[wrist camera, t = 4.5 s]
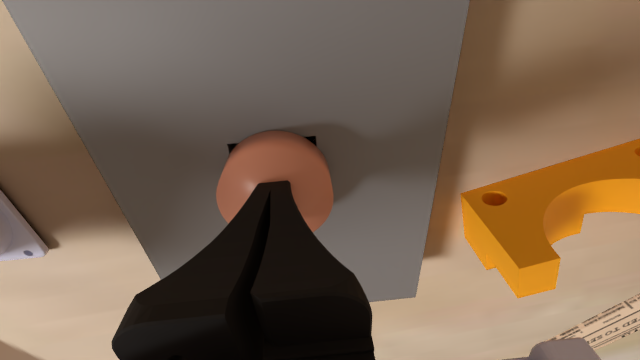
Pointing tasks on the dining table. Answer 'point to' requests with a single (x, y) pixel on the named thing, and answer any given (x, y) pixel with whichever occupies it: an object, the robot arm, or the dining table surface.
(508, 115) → the dining table surface
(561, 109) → the dining table surface
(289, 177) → the knob
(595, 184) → the pipe clamp
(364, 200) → the plate
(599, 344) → the newspaper
